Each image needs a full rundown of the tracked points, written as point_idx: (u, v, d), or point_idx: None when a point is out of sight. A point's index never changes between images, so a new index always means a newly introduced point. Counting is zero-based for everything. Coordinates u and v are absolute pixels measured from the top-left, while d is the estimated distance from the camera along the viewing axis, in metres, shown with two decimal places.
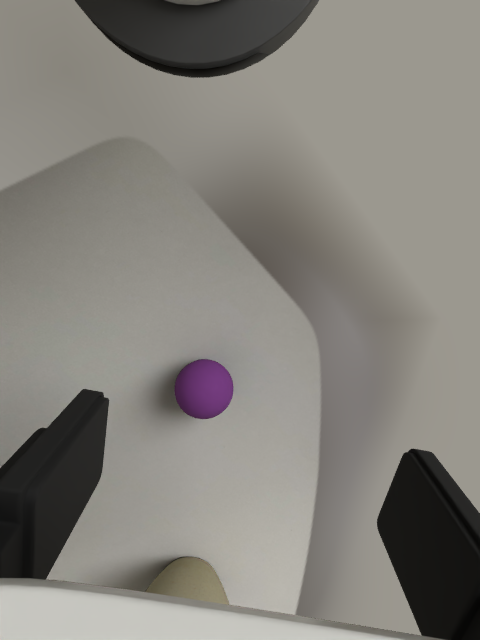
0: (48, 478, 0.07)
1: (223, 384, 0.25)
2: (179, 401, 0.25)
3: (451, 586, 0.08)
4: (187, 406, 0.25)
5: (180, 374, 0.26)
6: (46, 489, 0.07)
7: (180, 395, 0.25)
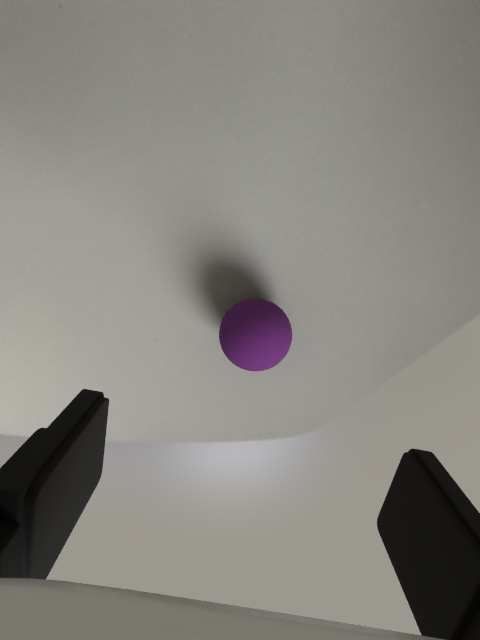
0: (48, 478, 0.07)
1: (271, 366, 0.21)
2: (252, 317, 0.19)
3: (451, 586, 0.08)
4: (249, 330, 0.19)
5: (279, 310, 0.20)
6: (46, 489, 0.07)
7: (261, 319, 0.19)
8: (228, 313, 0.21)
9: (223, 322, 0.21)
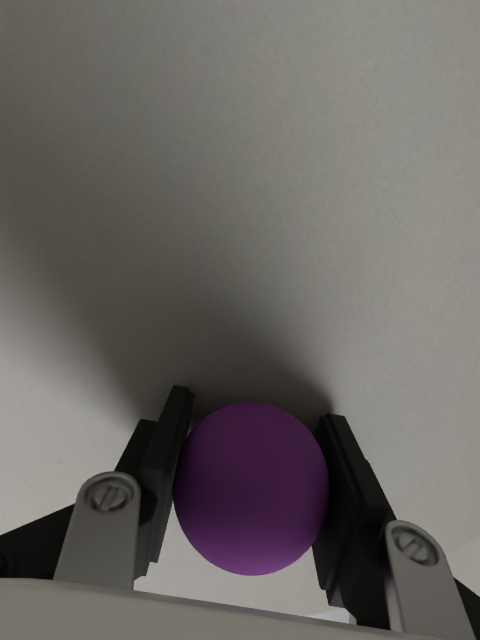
0: (175, 459, 0.08)
1: None
2: (242, 472, 0.08)
3: (335, 524, 0.09)
4: (236, 510, 0.08)
5: (304, 440, 0.09)
6: (173, 468, 0.08)
7: (264, 479, 0.08)
8: (190, 445, 0.09)
9: (179, 466, 0.09)
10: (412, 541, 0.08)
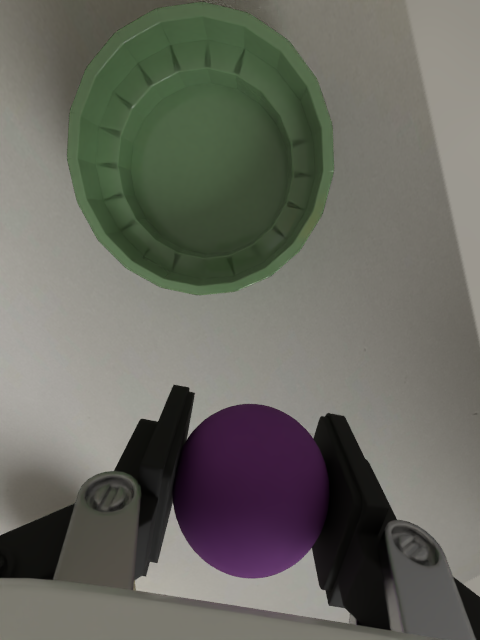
0: (175, 459, 0.08)
1: None
2: (242, 476, 0.08)
3: (335, 524, 0.09)
4: (236, 512, 0.08)
5: (303, 442, 0.09)
6: (173, 468, 0.08)
7: (264, 482, 0.08)
8: (190, 448, 0.09)
9: (179, 469, 0.09)
10: (412, 541, 0.08)
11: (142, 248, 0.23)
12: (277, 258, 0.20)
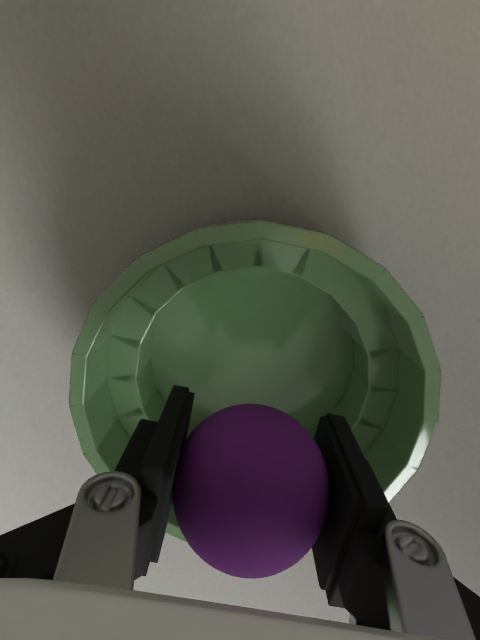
0: (175, 459, 0.08)
1: None
2: (242, 475, 0.08)
3: (335, 524, 0.09)
4: (235, 513, 0.08)
5: (303, 442, 0.09)
6: (173, 468, 0.08)
7: (264, 482, 0.08)
8: (189, 448, 0.09)
9: (178, 469, 0.09)
10: (412, 541, 0.08)
11: None
12: None
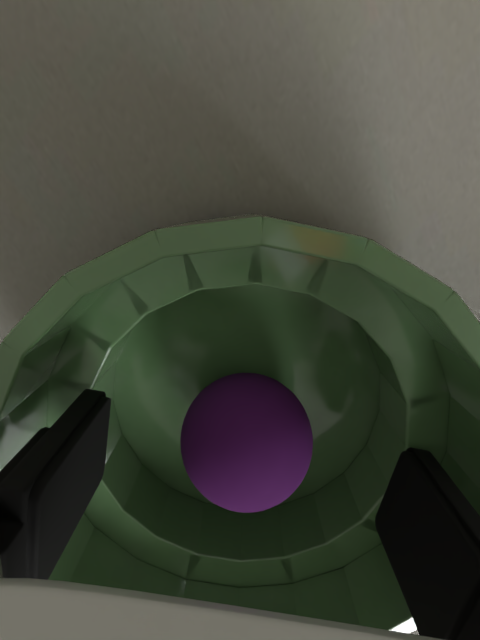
0: (52, 477, 0.07)
1: None
2: (238, 423, 0.10)
3: (448, 584, 0.08)
4: (233, 453, 0.10)
5: (290, 401, 0.11)
6: (50, 488, 0.07)
7: (256, 429, 0.10)
8: (195, 406, 0.11)
9: (186, 423, 0.11)
10: None
11: (134, 548, 0.13)
12: None
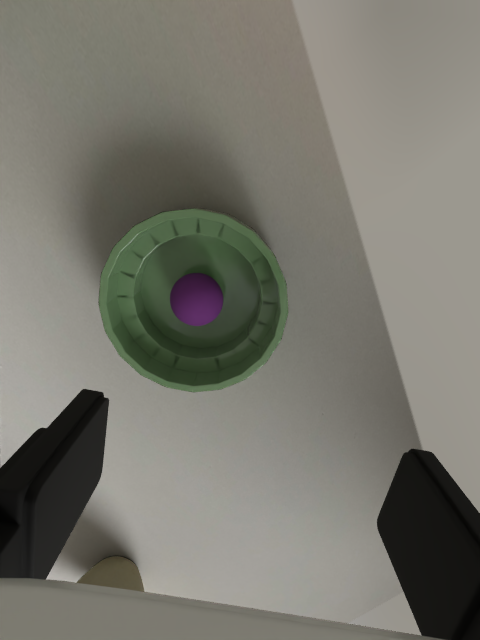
0: (48, 478, 0.07)
1: (207, 321, 0.28)
2: (190, 284, 0.27)
3: (451, 586, 0.08)
4: (187, 293, 0.27)
5: (212, 280, 0.28)
6: (46, 489, 0.07)
7: (196, 285, 0.27)
8: None
9: (172, 289, 0.28)
10: None
11: (150, 352, 0.30)
12: (250, 367, 0.28)
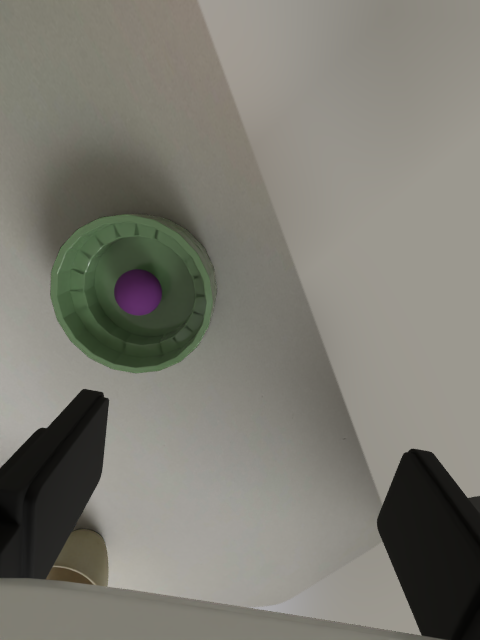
0: (48, 478, 0.07)
1: (145, 311, 0.33)
2: (128, 278, 0.32)
3: (451, 586, 0.08)
4: (125, 286, 0.31)
5: (150, 275, 0.33)
6: (46, 489, 0.07)
7: (133, 279, 0.32)
8: (119, 277, 0.33)
9: None
10: None
11: (101, 339, 0.35)
12: (183, 351, 0.32)
